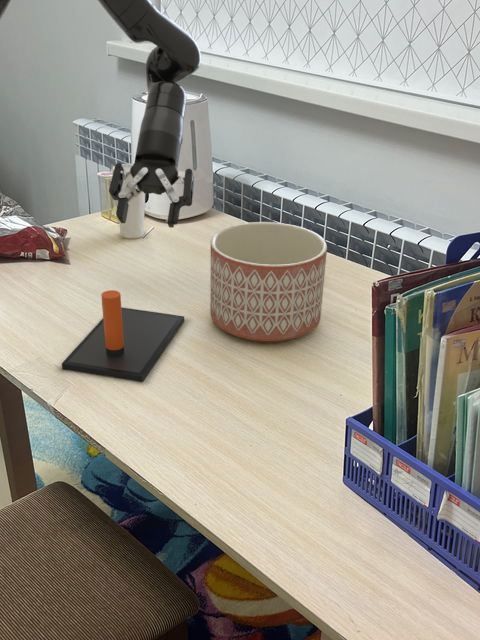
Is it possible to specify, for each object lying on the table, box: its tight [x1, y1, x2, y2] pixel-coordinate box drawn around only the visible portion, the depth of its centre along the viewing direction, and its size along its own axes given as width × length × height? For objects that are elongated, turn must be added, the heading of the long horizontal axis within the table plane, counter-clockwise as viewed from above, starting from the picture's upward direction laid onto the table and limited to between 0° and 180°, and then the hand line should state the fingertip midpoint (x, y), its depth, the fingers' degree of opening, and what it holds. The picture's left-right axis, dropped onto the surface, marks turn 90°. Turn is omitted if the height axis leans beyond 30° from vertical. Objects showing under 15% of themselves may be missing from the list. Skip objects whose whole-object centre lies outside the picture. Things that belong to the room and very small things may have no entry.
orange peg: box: [100, 289, 124, 356], centre depth 106 cm, size 3×3×10 cm
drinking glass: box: [112, 163, 146, 239], centre depth 150 cm, size 7×7×15 cm
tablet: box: [61, 306, 185, 383], centre depth 113 cm, size 13×20×1 cm, turn 168°
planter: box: [209, 221, 328, 344], centre depth 118 cm, size 19×19×15 cm
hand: (146, 223), depth 119 cm, fingers open, 8 cm apart
